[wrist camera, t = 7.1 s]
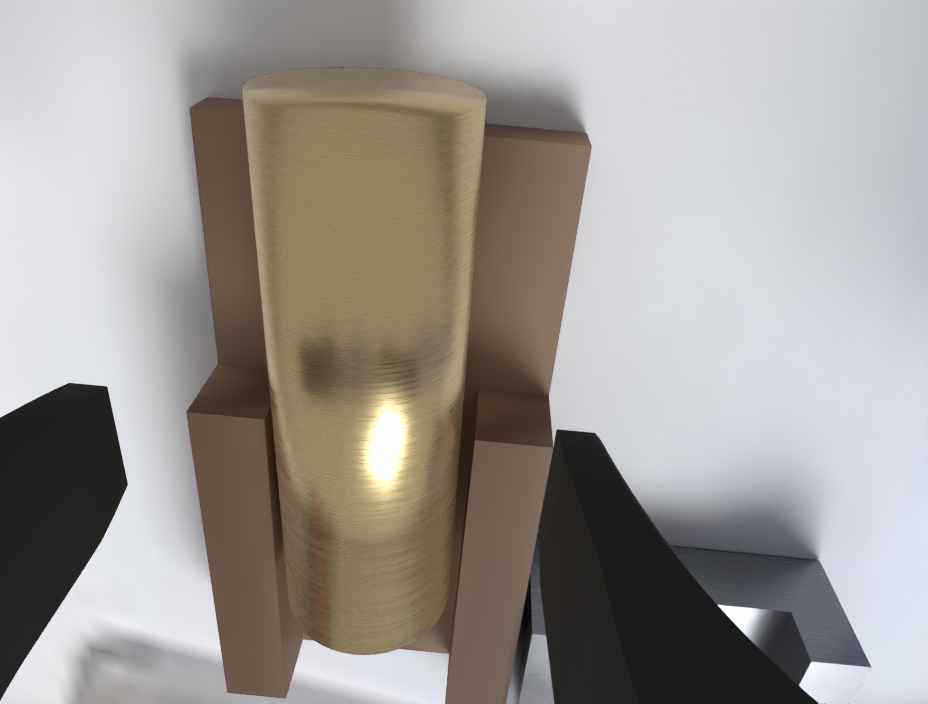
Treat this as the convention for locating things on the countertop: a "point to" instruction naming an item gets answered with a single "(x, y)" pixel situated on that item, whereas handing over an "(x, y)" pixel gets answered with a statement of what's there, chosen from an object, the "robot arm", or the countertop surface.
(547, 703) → the v block
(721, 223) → the countertop surface
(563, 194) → the brown wooden cradle
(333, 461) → the brass axle
